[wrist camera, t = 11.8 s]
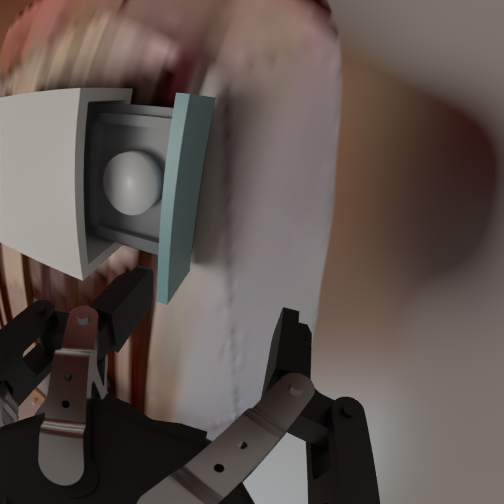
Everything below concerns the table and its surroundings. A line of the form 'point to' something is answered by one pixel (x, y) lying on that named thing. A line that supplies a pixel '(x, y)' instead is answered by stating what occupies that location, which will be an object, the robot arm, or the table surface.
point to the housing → (50, 177)
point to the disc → (133, 182)
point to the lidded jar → (41, 391)
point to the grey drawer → (174, 173)
